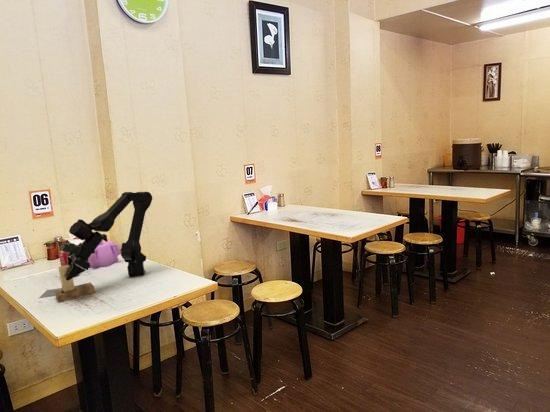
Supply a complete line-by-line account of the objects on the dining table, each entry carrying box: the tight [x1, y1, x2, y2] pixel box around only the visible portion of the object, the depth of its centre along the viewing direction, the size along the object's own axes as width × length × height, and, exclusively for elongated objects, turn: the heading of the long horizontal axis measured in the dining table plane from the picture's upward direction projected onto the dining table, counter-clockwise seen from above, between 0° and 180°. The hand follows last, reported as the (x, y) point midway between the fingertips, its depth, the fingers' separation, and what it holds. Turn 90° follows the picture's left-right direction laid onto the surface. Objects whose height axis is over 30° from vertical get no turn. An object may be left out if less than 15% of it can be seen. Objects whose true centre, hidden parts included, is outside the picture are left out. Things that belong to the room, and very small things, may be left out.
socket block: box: [55, 281, 96, 303], centre depth 171 cm, size 14×8×3 cm, turn 124°
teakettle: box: [88, 240, 121, 269], centre depth 217 cm, size 17×17×12 cm
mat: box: [38, 287, 62, 299], centre depth 177 cm, size 10×10×1 cm
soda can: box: [58, 250, 79, 278], centre depth 198 cm, size 7×7×13 cm
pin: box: [58, 265, 75, 294], centre depth 169 cm, size 4×4×13 cm
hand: (64, 277), depth 168 cm, fingers open, 9 cm apart
